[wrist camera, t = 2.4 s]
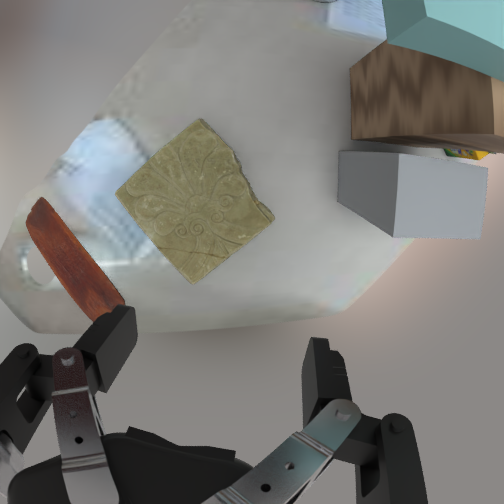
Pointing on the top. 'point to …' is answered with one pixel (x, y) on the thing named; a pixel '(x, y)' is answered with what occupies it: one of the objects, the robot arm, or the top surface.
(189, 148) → the decorative tile
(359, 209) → the step
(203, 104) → the top surface
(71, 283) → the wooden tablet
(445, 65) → the post
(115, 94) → the top surface
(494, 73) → the block
